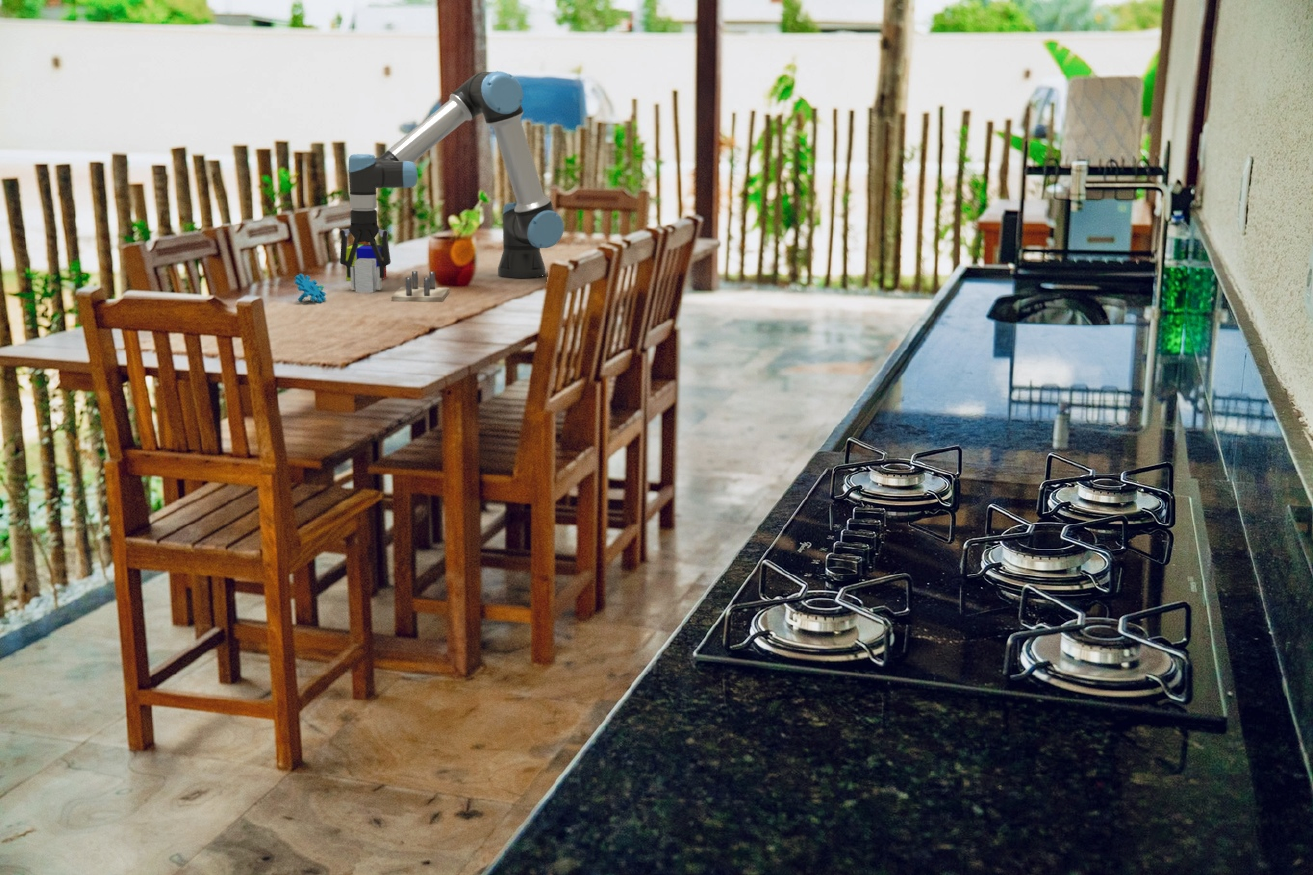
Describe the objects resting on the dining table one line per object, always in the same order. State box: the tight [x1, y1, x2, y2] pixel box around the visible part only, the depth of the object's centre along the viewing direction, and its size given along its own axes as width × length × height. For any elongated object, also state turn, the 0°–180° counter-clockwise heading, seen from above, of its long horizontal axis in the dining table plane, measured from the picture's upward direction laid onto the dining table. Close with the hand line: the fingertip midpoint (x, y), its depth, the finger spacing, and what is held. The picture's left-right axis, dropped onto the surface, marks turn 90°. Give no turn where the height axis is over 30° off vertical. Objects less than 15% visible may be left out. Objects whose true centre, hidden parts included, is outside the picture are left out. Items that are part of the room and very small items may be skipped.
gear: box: [294, 273, 327, 304], centre depth 364 cm, size 11×6×10 cm
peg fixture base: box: [390, 270, 450, 303], centre depth 376 cm, size 14×18×6 cm
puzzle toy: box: [345, 244, 387, 282], centre depth 407 cm, size 10×10×10 cm
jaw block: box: [355, 258, 378, 294], centre depth 384 cm, size 5×7×9 cm
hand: (366, 288), depth 385 cm, fingers open, 7 cm apart
